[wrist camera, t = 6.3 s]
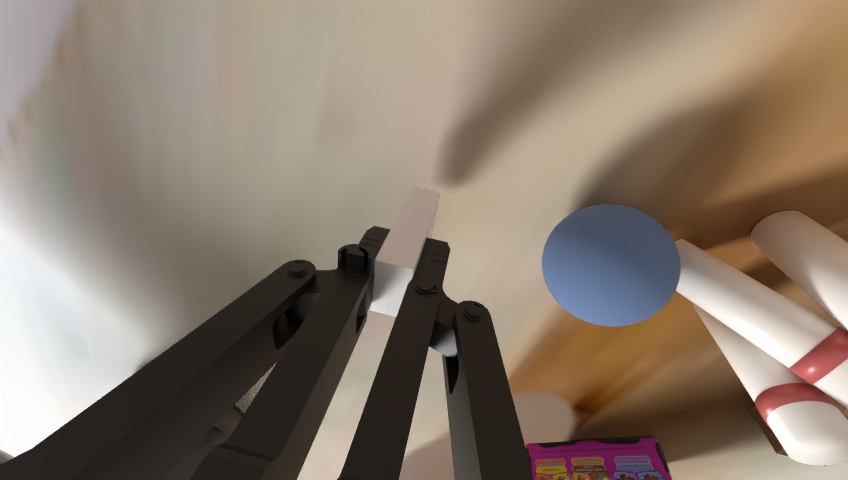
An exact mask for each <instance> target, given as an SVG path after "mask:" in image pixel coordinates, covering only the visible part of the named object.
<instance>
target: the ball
mask: <svg viewBox="0 0 848 480" xmlns="http://www.w3.org/2000/svg"><path fill="white" fill-rule="evenodd" d="M542 269H543V276H544V279H545V282H546V284H547V287H548V289H549V291H550V293H551V294H552V296H553V297H554V298H555V300H556V301H557V302H558V303H559V304H560V305H561V306H562V307H563V308H564V309H565V310H566V311H568V312H569V313H571V314H572V315H574V316H576V317H577V318H579V319H581V320H584V321H587V322H589V323H592V324H596V325H601V326H626V325H631V324H635V323H638V322H641V321H643V320H646V319H648V318H650V317H651V316H653V315H654V314H656V313H657V312H659V311H660V310H661V309H662V308H663V307H664V306H665V305H666V304H667V303H668V302H669V300H670V299H671V298H672V296H673V294H674V292H675V291H676V288H677V285H678V283H679V279H680V273H681V262H680V256H679V252H678V249H677V246H676V244H675V242H674V240H673V238H672V236H671V235H670V233H669V232H668V231H667V229H666V228H665V227H664V226H663V225H662V224H661V223H660V222H658V221H657V220H656V219H655V218H653V217H652V216H650V215H649V214H647V213H645V212H643V211H641V210H638V209H636V208H633V207H629V206H625V205H619V204H599V205H593V206H589V207H586V208H583V209H580V210H578V211H576V212H574V213H572V214H570V215H569V216H567V217H566V218H565V219H563V220H562V221H561V222H560V223H559V224H558V225H557V226H556V227H555V228H554V230H553V231H552V232H551V234H550V236H549V237H548V240H547V242H546V244H545V247H544V251H543V256H542Z"/></svg>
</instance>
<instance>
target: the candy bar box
mask: <svg viewBox="0 0 848 480" xmlns="http://www.w3.org/2000/svg"><path fill="white" fill-rule="evenodd" d="M525 448H526V452H527V456H528V459H529V463H530V467H531V471H532V475H533V478H534V480H672V477H671V474H670V471H669V468H668V465H667V462H666V460H665V457H664V454H663V451H662V449H661V446H660V444H659V442H658V440H657V438H654V437H644V438H622V439H604V440H586V441H568V442H551V443H534V444H526V446H525Z"/></svg>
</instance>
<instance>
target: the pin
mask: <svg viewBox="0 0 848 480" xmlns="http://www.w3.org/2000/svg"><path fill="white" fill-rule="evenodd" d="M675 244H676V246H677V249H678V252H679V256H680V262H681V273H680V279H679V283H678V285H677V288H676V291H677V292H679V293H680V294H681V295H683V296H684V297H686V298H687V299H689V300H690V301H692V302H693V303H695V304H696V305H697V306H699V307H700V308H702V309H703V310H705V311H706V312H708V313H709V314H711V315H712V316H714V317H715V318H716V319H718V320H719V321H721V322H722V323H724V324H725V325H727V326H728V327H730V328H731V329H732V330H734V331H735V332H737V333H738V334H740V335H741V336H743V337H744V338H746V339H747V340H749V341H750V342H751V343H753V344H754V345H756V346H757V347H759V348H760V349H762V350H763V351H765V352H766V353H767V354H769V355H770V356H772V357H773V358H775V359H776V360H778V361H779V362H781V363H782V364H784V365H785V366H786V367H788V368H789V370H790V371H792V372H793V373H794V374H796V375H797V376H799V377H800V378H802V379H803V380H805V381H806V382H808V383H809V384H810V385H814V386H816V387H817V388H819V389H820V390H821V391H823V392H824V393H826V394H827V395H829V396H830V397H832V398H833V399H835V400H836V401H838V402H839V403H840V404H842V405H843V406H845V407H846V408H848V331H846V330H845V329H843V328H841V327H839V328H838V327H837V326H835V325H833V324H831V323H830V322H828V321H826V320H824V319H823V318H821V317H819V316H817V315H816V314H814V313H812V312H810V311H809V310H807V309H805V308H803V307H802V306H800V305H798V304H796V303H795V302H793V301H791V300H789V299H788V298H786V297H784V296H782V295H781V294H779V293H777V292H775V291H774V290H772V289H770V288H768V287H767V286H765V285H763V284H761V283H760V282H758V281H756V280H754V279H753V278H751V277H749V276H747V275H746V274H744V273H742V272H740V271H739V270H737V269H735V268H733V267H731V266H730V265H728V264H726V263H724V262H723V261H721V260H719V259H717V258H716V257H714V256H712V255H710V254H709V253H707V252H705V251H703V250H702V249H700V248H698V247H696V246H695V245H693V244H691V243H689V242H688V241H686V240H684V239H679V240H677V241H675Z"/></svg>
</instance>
